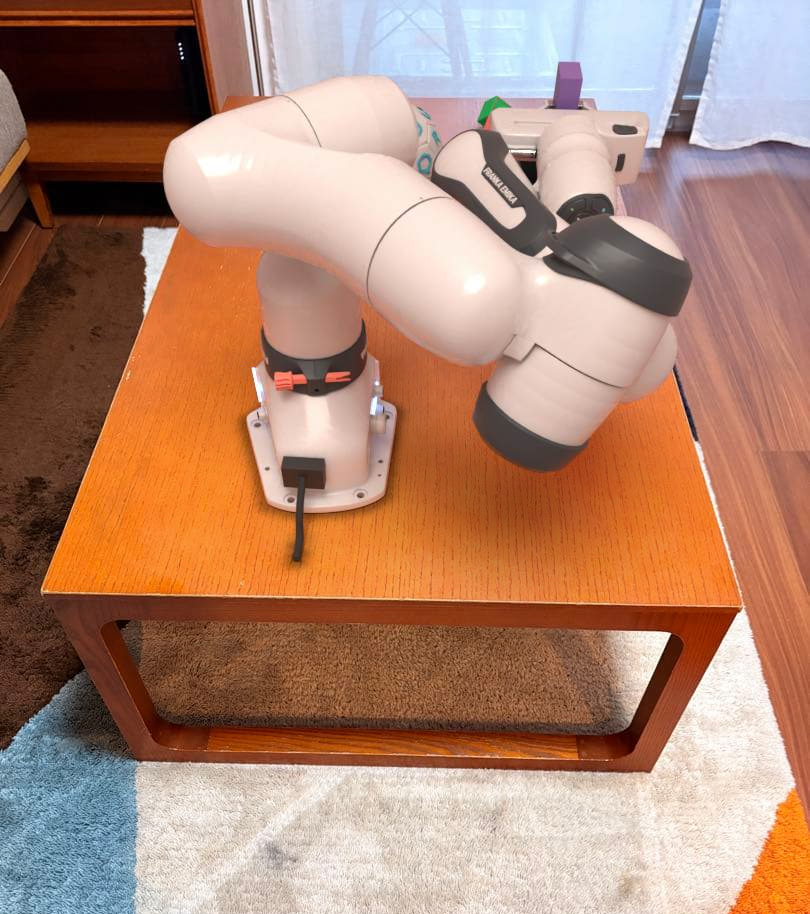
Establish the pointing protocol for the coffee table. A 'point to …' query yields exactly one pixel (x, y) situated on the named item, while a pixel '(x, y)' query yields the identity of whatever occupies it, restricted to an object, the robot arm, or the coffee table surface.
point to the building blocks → (490, 110)
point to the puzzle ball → (426, 143)
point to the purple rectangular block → (568, 85)
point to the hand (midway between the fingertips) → (564, 106)
